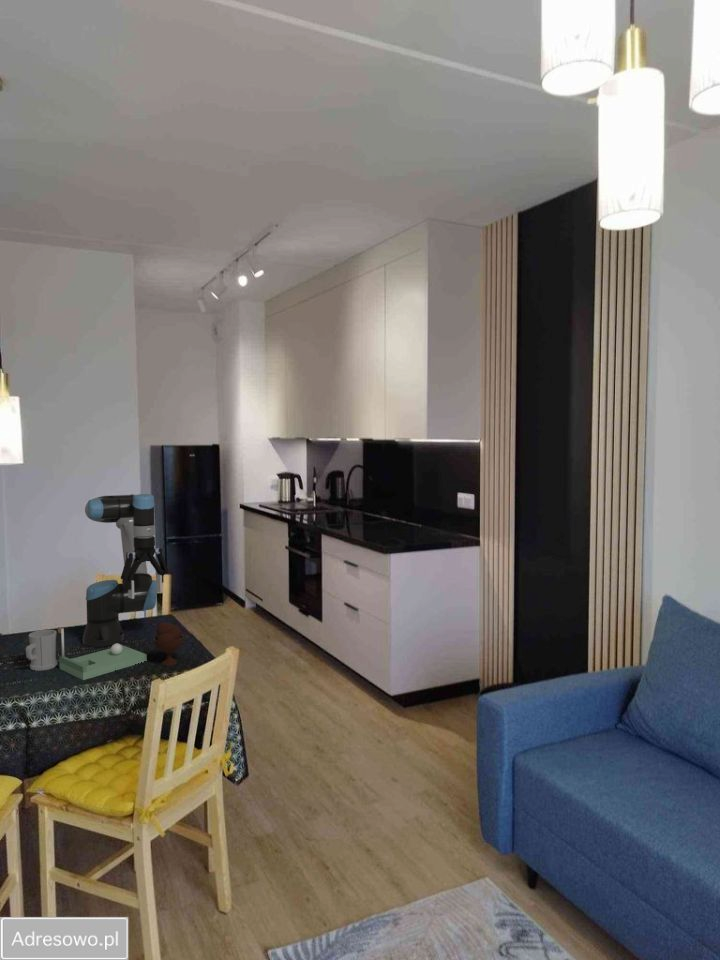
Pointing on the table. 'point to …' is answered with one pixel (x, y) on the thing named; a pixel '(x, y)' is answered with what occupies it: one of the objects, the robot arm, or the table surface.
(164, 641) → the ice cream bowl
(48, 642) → the cup
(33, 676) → the table surface
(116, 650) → the ball
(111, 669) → the putting mat
